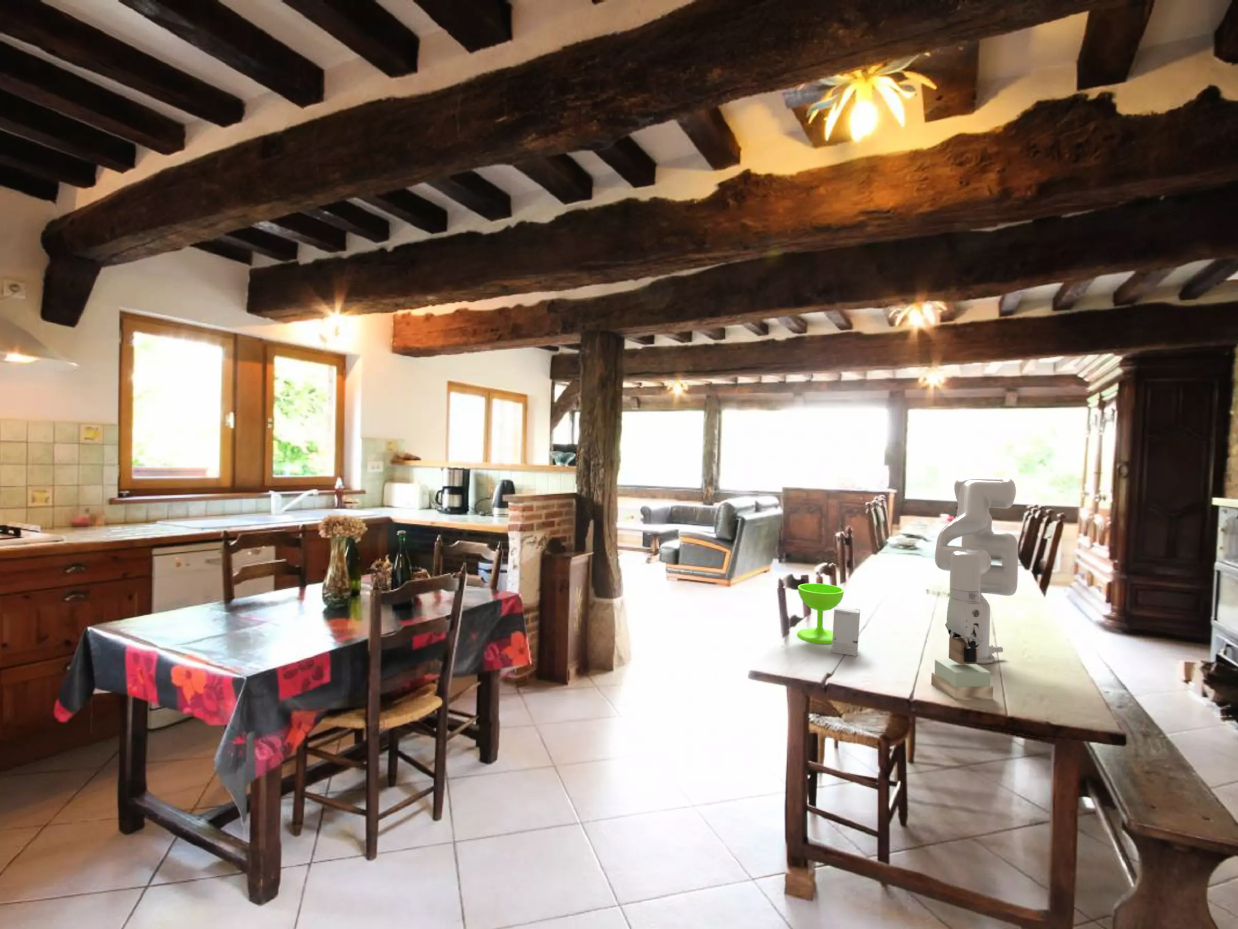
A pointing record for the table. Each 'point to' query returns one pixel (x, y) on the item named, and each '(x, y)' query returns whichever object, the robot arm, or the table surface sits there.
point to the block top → (962, 674)
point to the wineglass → (819, 609)
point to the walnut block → (958, 650)
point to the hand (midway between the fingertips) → (962, 657)
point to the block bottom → (961, 690)
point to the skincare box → (845, 630)
